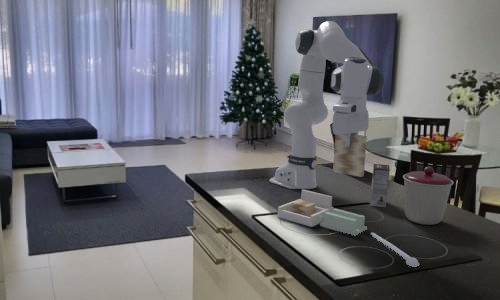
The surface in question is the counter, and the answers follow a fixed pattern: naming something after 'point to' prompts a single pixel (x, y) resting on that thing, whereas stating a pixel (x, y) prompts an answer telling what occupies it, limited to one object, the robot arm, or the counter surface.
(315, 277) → the counter surface
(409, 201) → the canister
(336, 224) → the holder
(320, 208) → the rack
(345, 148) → the birch panel
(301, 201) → the offcut stack
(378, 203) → the coffee box
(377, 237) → the white ladle
